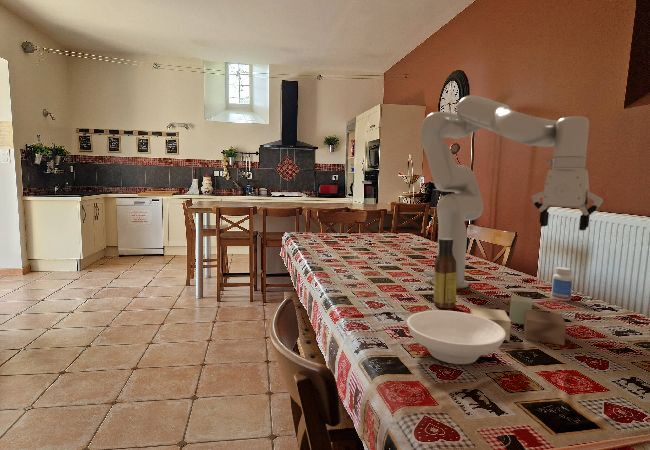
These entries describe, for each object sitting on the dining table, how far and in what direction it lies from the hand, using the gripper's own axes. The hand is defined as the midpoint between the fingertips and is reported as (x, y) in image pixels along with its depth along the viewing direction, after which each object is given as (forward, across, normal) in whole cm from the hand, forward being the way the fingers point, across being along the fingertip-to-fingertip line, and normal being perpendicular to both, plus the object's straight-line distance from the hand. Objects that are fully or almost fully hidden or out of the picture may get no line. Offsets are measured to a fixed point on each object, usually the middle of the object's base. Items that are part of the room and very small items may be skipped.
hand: (562, 227), depth 113 cm
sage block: (+24, -4, -14) cm, 28 cm away
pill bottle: (+24, -5, +18) cm, 31 cm away
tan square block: (+24, +4, -20) cm, 32 cm away
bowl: (+25, -3, -47) cm, 53 cm away
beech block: (+24, -5, -28) cm, 38 cm away
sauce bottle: (+24, -23, -19) cm, 39 cm away
